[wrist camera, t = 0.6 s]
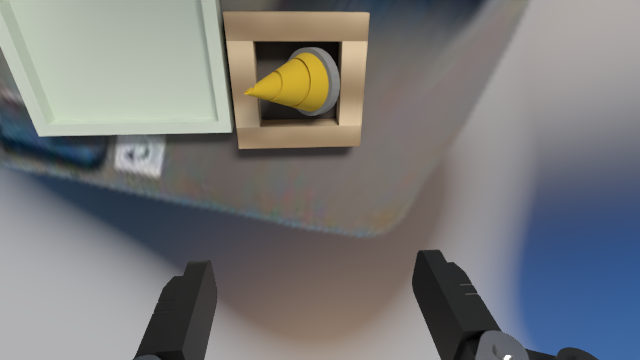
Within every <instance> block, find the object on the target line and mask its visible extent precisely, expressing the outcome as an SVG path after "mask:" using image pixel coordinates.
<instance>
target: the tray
mask: <svg viewBox="0 0 640 360" xmlns="http://www.w3.org/2000/svg"><path fill="white" fill-rule="evenodd" d="M0 47H1V49H2V51H3V54H4V56H5V58H6V61H7V63H8V65H9V68H10V70H11V72H12V75H13V77H14V79H15V82H16V84H17V86H18V89H19V91H20V93H21V96H22V98H23V100H24V103H25V105H26V107H27V110H28V112H29V115H30V117H31V119H32V122H33V124H34V126H35V129H36V131H37V133H38V136H81V135H131V134H181V133H231V132H232V131H233V128H234V126H235V125H234V117H233V108H232V100H231V92H230V83H229V75H228V67H227V58H226V50H225V42H224V33H223V25H222V17H221V8H220V0H0Z"/></svg>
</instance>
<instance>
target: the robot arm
mask: <svg viewBox="0 0 640 360" xmlns="http://www.w3.org/2000/svg"><path fill="white" fill-rule="evenodd" d="M412 287H413V291H414V294H415V297H416V299H417V302H418V304H419V307H420V309H421V312H422V314H423V316H424V319H425V321H426V324H427V326H428V329H429V331H430V334H431V336H432V338H433V341H434V343H435V346H436V348H437V351H438V353H439V356H440V358H441V360H598V359H597V358H595V357H594V356H592V355H591V354H589V353H587V352H585V351H583V350H580V349H577V348H569V347H568V348H564V349H561V350H560V351H559V352H558V354H557V356H553V355H548V354H544V353H540V352H536V351H531V350H528V349H525V348H524V347H523V346H522V344H521V343H520V342H518V340H516V339H515V338H514V337H512V336H511V335H509V334H506V333H504V332H502V331H501V329H500V328H499V326H498V325H497V323H496V321H495V320H494V318H493V317H492V315H491V314H490V312H489V310H488V309H487V307H486V305H485V304H484V302H483V300H482V299H481V297H480V296H479V295H478V294H477V291H476V289H475V288H474V286H473V285H472V283H471V281H470V280H469V278H468V276H467V275H466V273H465V272H464V271H463V270H462V269H461V268H460V267H458V266H457V265H456V264H455V263H454V262H449V263H447V261H446V260H445V258H444V257H443V255H442V253H441V252H440V250H420V251H419V252H418V254H417V258H416V263H415V268H414V273H413V277H412ZM216 303H217V287H216V283H215V278H214V273H213V269H212V263H211V261H210V260H208V261H190V262H189V263H188V264H187V267H186V270H185V272H184V275H183V276H174V277H173V278H172V279H171V280H170V281H169V282H168V283H167V285H166V286H165V287H164V288H163V290H162V293H161V295H160V297H159V300H158V303H157V305H156V307H155V310H154V314H152V317H151V319H150V322H149V324H148V327H147V329H146V331H145V334H144V336H143V339H142V341H141V344H140V346H139V348H138V351H137V353H136V355H135V357H134V359H133V360H204V358H205V353H206V349H207V344H208V340H209V335H210V331H211V326H212V322H213V317H214V313H215V309H216Z"/></svg>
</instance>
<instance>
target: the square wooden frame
mask: <svg viewBox="0 0 640 360" xmlns="http://www.w3.org/2000/svg"><path fill="white" fill-rule="evenodd" d="M369 15H370V13H367V12H305V11H225V12H223V17H224V25H225V34H226V42H227V51H228V59H229V68H230V76H231V85H232V93H233V102H234V110H235V119H236V128H237V136H238V145H239V149H257V148H299V147H341V146H360V135H361V122H362V109H363V95H364V82H365V68H366V55H367V41H368V28H369ZM255 41H339V56H338V73H339V78H340V90H339V95H338V98H337V112H336V119H283V120H261V109H260V98H257V97H253V96H249V95H246V94H244V92H245V91H246V90H247V89H249V88H250V87H252V88H254V85H255V84H256V83H258V71H257V58H256V45H255Z"/></svg>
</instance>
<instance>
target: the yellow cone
mask: <svg viewBox="0 0 640 360" xmlns="http://www.w3.org/2000/svg"><path fill="white" fill-rule="evenodd" d="M339 90H340V78H339V73H338V69H337V66H336V64H335V62H334V60H333V59H332V57H331V56H330V55H329V54H328V53H327V52H326V51H324V50H323V49H320V48H317V47H308V48H301V49H298V50H297V51H295V52H294V53H293V54H292V55H291V57H290V58H289V60H288V62H287V63H285V64H284V65H282V66H281V67H280V68H278V69H277V70H275V71H274V72H272V73H271V74H269V75H268V76H266V77H265V78H264V79H262V80H261V81H259V82H258V83H256V84H255V85H254V88H252V87H250V88H249V89H247V90H246V91H245V92H244V94H246V95H249V96H253V97H257V98H260V99H264V100H268V101H271V102H275V103H279V104H282V105H286V106H290V107H294V108H296V109H297V110H298V111H299V112H301V113H302V114H304V115H308V116H315V115H319V114H322V113H325V112H327V111H329V110H330V109H331V108H332V107H333V106H334V104H335V102H336V101H337V98H338V95H339Z"/></svg>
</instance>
